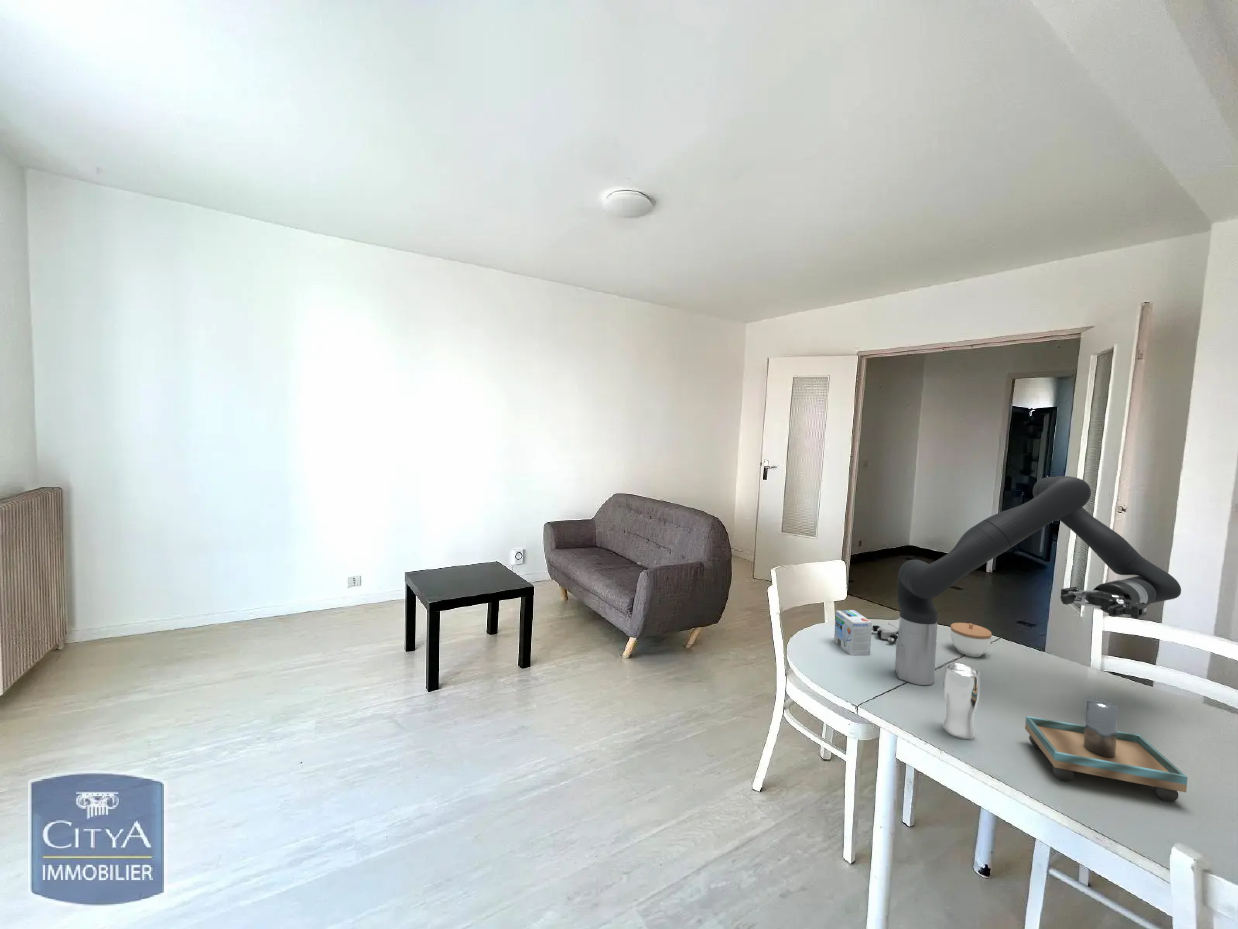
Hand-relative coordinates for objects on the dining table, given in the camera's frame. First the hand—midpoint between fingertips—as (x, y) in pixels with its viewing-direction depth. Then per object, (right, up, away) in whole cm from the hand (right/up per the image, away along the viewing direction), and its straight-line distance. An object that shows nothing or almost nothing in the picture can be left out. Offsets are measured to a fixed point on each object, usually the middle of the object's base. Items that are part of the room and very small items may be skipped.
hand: (1086, 605), depth 117 cm
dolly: (-9, -31, -12) cm, 35 cm away
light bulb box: (-33, -27, +46) cm, 63 cm away
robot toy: (-14, -26, +55) cm, 62 cm away
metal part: (-9, -26, -13) cm, 31 cm away
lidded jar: (+3, -27, +44) cm, 52 cm away
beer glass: (-29, -30, +1) cm, 42 cm away
